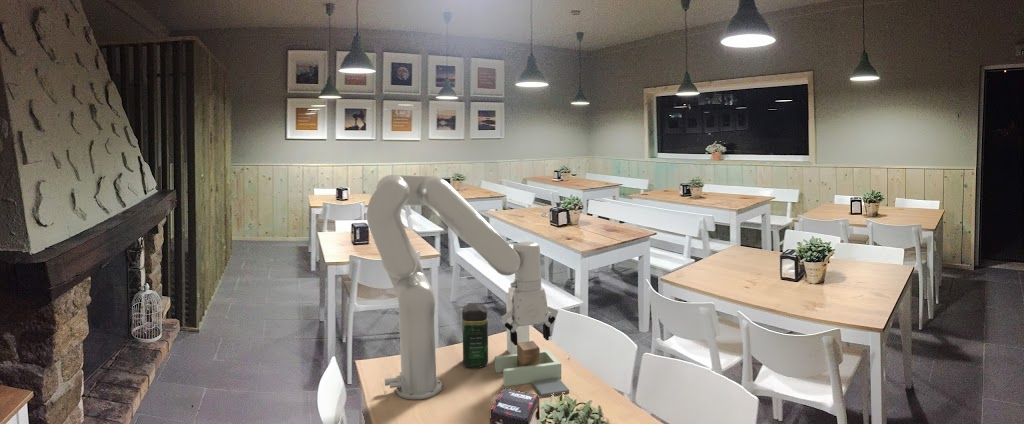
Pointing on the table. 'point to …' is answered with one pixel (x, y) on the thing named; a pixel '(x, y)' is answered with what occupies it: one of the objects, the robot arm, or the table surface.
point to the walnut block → (527, 354)
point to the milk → (521, 330)
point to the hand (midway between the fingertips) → (530, 341)
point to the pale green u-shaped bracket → (527, 369)
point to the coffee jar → (475, 335)
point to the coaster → (550, 387)
